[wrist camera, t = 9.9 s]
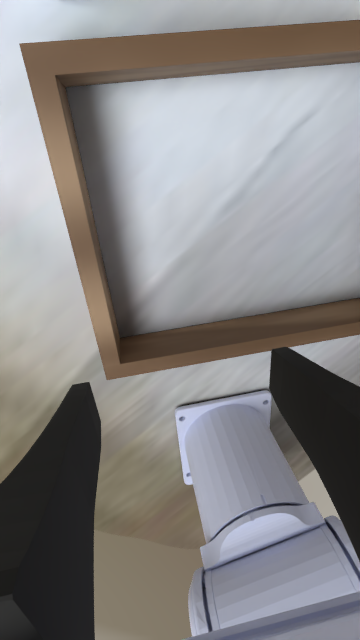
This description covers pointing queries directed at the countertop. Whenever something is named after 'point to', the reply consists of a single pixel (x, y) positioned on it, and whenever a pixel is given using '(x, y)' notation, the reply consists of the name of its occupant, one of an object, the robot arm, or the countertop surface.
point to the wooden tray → (59, 134)
